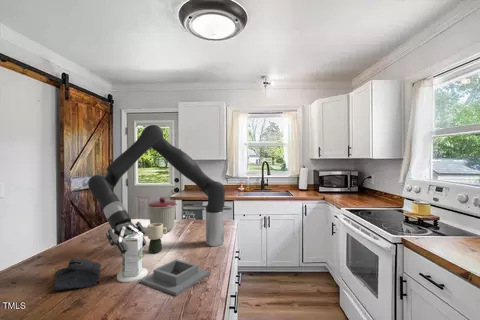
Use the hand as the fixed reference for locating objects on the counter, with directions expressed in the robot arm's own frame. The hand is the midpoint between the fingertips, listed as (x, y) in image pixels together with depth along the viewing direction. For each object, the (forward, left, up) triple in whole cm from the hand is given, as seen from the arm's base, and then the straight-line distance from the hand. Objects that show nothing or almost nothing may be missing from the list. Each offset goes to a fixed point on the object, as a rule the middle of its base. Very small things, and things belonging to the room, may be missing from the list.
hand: (135, 248), depth 96 cm
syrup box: (0, -2, -10) cm, 10 cm away
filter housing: (-7, +15, -11) cm, 19 cm away
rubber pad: (0, -1, -11) cm, 11 cm away
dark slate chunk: (+12, -18, -11) cm, 25 cm away
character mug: (-22, -14, -11) cm, 28 cm away
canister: (-49, -39, -11) cm, 64 cm away
